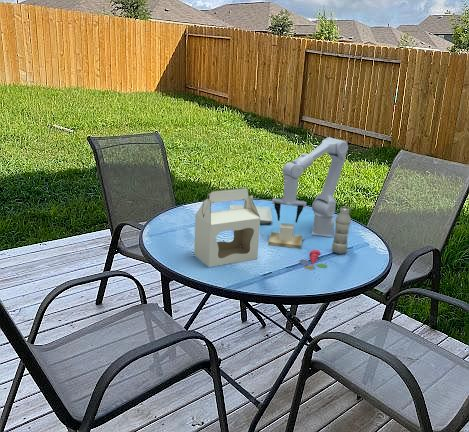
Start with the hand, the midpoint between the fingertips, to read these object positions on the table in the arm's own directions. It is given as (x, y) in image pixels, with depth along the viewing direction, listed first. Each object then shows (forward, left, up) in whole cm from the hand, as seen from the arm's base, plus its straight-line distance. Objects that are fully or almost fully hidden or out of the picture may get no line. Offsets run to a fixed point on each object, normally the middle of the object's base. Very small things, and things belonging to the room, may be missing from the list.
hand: (287, 220), depth 210 cm
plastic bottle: (-23, +6, -10) cm, 26 cm away
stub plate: (0, +1, -9) cm, 9 cm away
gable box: (+22, +25, -10) cm, 35 cm away
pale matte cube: (0, +1, -8) cm, 8 cm away
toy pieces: (-12, +21, -10) cm, 26 cm away
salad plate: (+20, -26, -10) cm, 34 cm away
